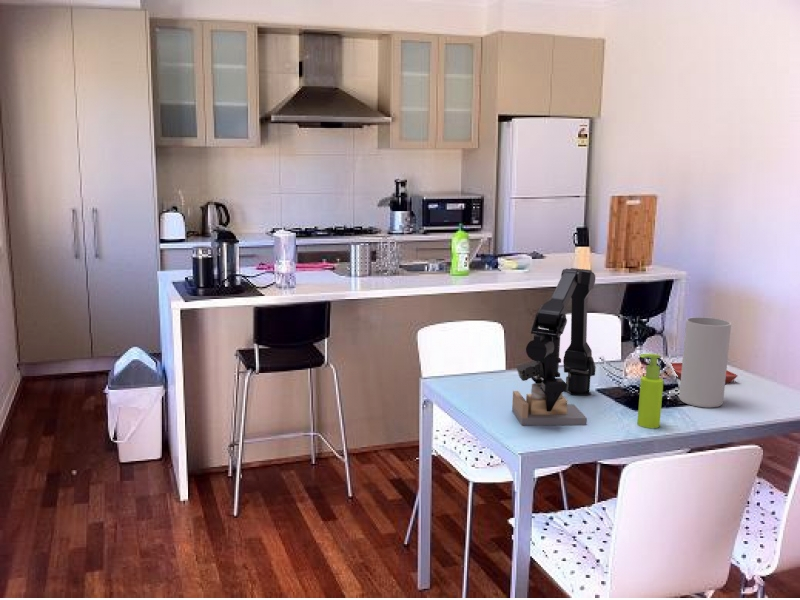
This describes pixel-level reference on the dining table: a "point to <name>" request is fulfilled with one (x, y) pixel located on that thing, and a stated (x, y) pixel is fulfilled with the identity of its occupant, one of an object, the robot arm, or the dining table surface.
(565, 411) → the glass caddy
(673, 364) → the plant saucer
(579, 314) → the robot arm
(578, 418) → the l-shaped bookend
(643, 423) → the soap dispenser
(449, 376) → the dining table surface
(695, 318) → the cylinder vase
